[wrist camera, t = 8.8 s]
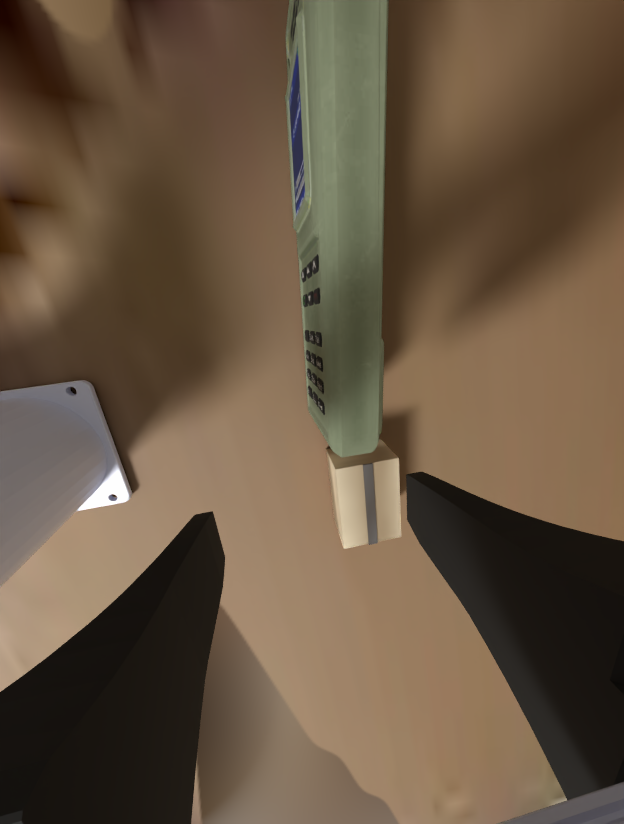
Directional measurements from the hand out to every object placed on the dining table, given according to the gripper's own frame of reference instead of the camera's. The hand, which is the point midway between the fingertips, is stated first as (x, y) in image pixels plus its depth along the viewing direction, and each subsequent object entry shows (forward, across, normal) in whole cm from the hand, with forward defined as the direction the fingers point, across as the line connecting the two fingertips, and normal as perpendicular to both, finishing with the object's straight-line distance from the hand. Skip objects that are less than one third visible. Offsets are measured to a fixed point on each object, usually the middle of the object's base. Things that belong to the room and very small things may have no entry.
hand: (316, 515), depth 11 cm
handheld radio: (+10, -3, -13) cm, 17 cm away
